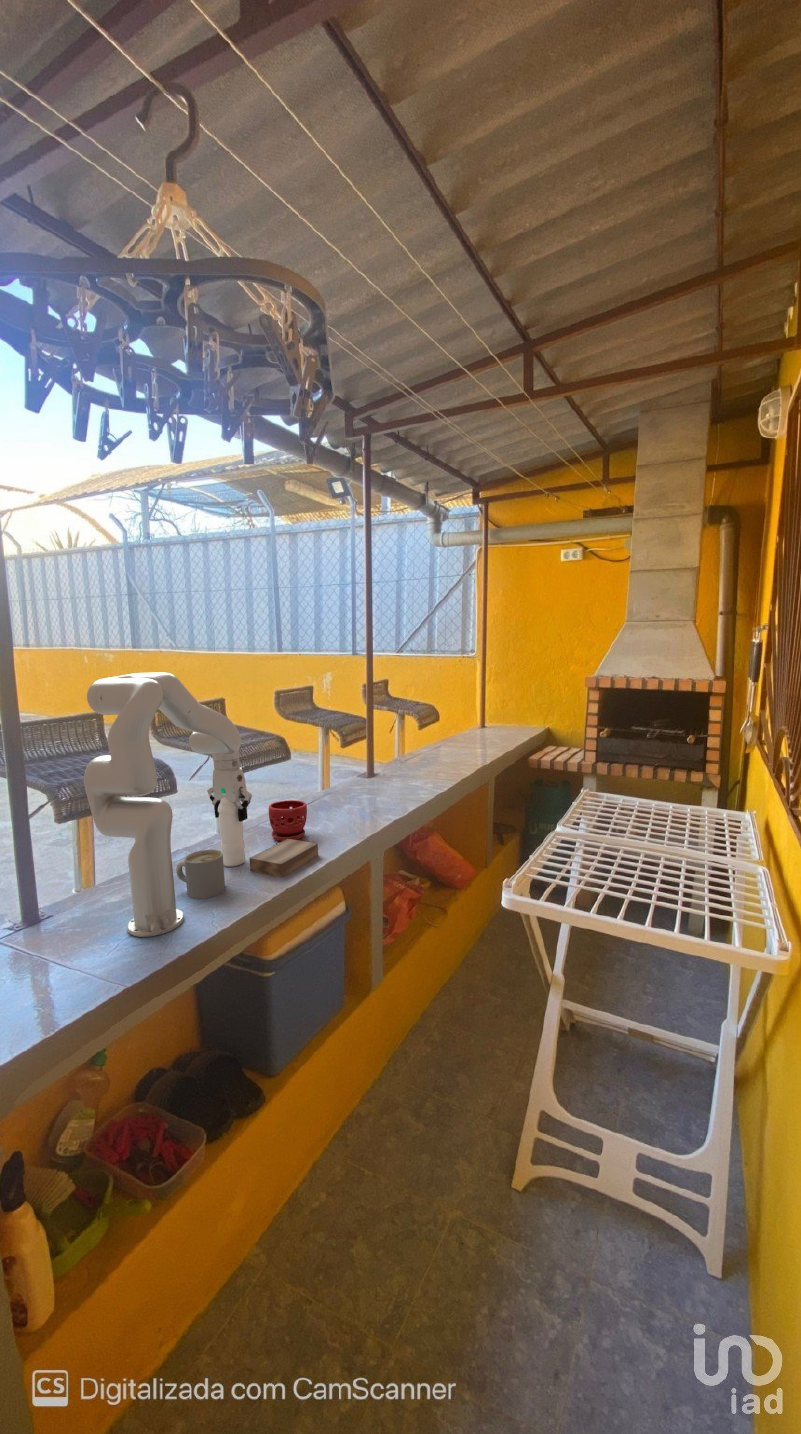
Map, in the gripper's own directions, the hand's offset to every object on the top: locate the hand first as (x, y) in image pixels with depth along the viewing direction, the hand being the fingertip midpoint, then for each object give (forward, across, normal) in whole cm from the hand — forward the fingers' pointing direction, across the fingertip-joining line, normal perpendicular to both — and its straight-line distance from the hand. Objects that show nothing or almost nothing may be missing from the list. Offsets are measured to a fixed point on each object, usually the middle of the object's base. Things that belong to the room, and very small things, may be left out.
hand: (231, 818), depth 173 cm
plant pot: (+15, -1, -25) cm, 29 cm away
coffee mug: (+14, -6, +19) cm, 24 cm away
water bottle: (+14, 0, +1) cm, 14 cm away
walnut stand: (+14, -15, -6) cm, 22 cm away
